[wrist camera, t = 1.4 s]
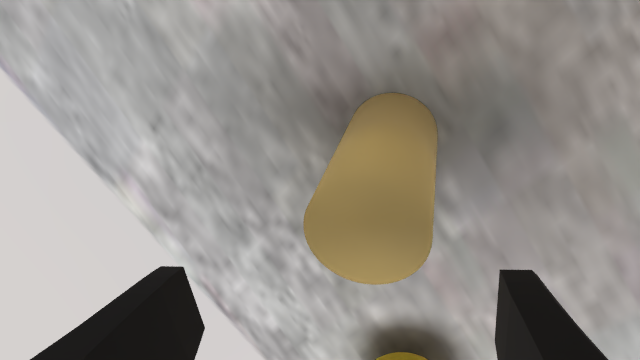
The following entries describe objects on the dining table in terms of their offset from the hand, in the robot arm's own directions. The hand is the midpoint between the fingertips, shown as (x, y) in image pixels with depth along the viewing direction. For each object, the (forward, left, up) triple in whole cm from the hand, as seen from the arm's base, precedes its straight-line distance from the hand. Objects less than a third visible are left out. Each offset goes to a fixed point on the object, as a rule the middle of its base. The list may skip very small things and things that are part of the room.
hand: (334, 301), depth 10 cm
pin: (0, 0, -10) cm, 10 cm away
